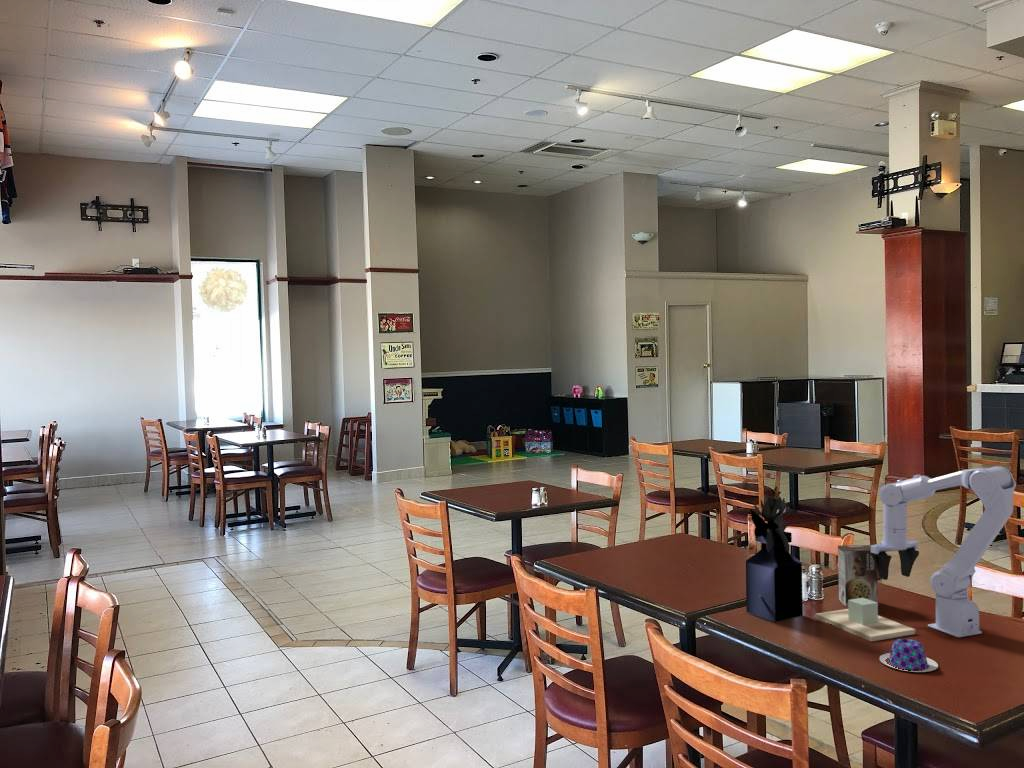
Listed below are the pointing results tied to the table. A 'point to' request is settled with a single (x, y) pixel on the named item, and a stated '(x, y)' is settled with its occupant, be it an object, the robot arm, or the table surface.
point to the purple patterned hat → (908, 656)
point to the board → (866, 626)
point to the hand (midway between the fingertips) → (894, 577)
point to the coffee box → (857, 573)
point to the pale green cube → (863, 611)
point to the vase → (773, 567)
